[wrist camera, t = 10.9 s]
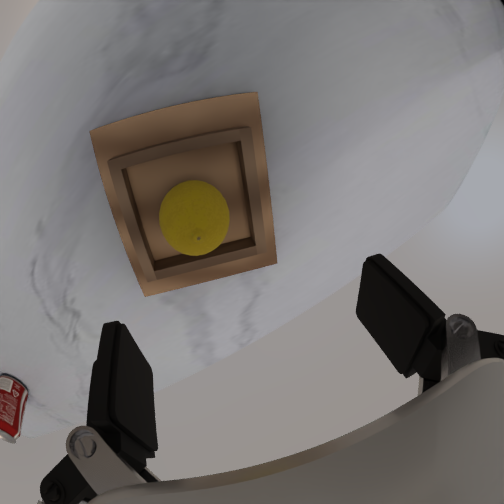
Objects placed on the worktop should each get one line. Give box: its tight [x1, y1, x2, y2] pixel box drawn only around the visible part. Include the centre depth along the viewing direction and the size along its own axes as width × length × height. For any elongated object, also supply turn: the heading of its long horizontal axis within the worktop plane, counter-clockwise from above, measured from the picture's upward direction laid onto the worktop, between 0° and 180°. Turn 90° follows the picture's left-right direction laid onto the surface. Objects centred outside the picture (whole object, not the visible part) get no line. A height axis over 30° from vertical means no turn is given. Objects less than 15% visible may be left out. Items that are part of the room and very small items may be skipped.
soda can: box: [0, 375, 28, 443], centre depth 26 cm, size 7×7×12 cm
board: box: [90, 92, 277, 297], centre depth 25 cm, size 18×15×4 cm
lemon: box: [159, 180, 230, 256], centre depth 21 cm, size 6×6×8 cm
